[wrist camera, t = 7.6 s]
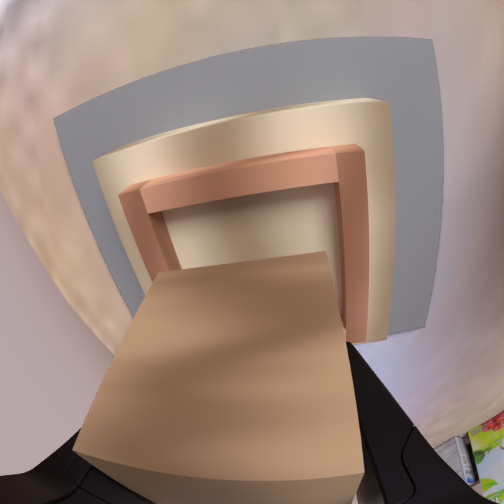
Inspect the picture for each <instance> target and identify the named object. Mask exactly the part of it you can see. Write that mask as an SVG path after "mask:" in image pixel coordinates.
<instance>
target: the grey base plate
mask: <svg viewBox="0 0 504 504" xmlns="http://www.w3.org/2000/svg"><path fill="white" fill-rule="evenodd" d="M358 98H370V99H376V100H382V101H387V102H389V105H390V114H391V124H392V135H393V148H394V165H395V197H396V222H395V254H394V271H393V285H392V296H391V306H390V315H389V324H388V332H387V335H389V334H395V333H400V332H405V331H410V330H415V329H420V328H424V327H425V324H426V319H427V315H428V310H429V305H430V300H431V295H432V289H433V283H434V277H435V271H436V264H437V257H438V249H439V240H440V230H441V219H442V204H443V180H444V145H443V122H442V108H441V97H440V87H439V79H438V71H437V65H436V58H435V52H434V47H433V41H432V39H421V38H406V37H340V38H324V39H313V40H303V41H295V42H287V43H280V44H273V45H267V46H261V47H255V48H250V49H245V50H240V51H235V52H231V53H226V54H222V55H218V56H214V57H210V58H206V59H202V60H198V61H195V62H191V63H188V64H184V65H181V66H178V67H174V68H171V69H168V70H165V71H162V72H159V73H156V74H153V75H150V76H147V77H145V78H142V79H139V80H137V81H134V82H131V83H129V84H126V85H124V86H121V87H119V88H116V89H114V90H112V91H109V92H107V93H105V94H102V95H100V96H98V97H96V98H93V99H91V100H89V101H87V102H85V103H83V104H81V105H79V106H77V107H75V108H73V109H71V110H69V111H67V112H65V113H63V114H61V115H59V116H57V117H55V118H54V119H53V120H54V124H55V127H56V131H57V134H58V138H59V141H60V145H61V148H62V151H63V154H64V158H65V161H66V164H67V167H68V170H69V173H70V176H71V179H72V182H73V184H74V187H75V190H76V193H77V195H78V198H79V201H80V203H81V206H82V209H83V211H84V214H85V216H86V219H87V221H88V224H89V226H90V229H91V231H92V233H93V236H94V238H95V240H96V243H97V245H98V247H99V249H100V252H101V254H102V256H103V258H104V261H105V263H106V265H107V267H108V269H109V271H110V273H111V275H112V278H113V280H114V282H115V284H116V286H117V288H118V290H119V292H120V294H121V296H122V298H123V300H124V302H125V303H126V305H127V307H128V309H129V311H130V313H131V315H132V317H133V318H134V316H135V314H136V313H137V311H138V309H139V307H140V305H141V303H142V301H143V299H144V298H145V294H144V291H143V289H142V287H141V285H140V283H139V281H138V278H137V276H136V274H135V272H134V270H133V267H132V265H131V263H130V260H129V258H128V256H127V253H126V251H125V249H124V246H123V244H122V241H121V239H120V237H119V234H118V232H117V229H116V227H115V224H114V221H113V219H112V216H111V214H110V211H109V208H108V206H107V203H106V200H105V197H104V195H103V192H102V189H101V186H100V183H99V180H98V177H97V174H96V171H95V168H94V165H93V162H92V161H93V160H95V159H97V158H99V157H101V156H103V155H105V154H107V153H109V152H111V151H113V150H115V149H117V148H119V147H121V146H123V145H126V144H129V143H132V142H135V141H138V140H141V139H145V138H148V137H151V136H155V135H158V134H161V133H165V132H168V131H172V130H176V129H179V128H183V127H187V126H191V125H195V124H199V123H203V122H207V121H211V120H216V119H220V118H225V117H230V116H234V115H239V114H244V113H250V112H255V111H261V110H266V109H272V108H279V107H285V106H292V105H299V104H307V103H315V102H324V101H334V100H345V99H358Z"/></svg>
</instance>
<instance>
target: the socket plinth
mask: <svg viewBox="0 0 504 504" xmlns="http://www.w3.org/2000/svg"><path fill="white" fill-rule="evenodd" d="M92 162H93V165H94V168H95V171H96V174H97V177H98V180H99V183H100V186H101V189H102V192H103V195H104V197H105V200H106V203H107V206H108V208H109V211H110V214H111V216H112V219H113V221H114V224H115V227H116V229H117V232H118V234H119V237H120V239H121V241H122V244H123V246H124V249H125V251H126V253H127V256H128V258H129V260H130V263H131V265H132V267H133V270H134V272H135V274H136V276H137V278H138V281H139V283H140V285H141V287H142V289H143V291H144V294H145V296H146V294H147V292H148V290H149V288H150V287H151V285H152V283H153V281H154V279H155V278H156V276H157V274H158V272H164V271H172V270H180V269H188V268H196V267H204V266H212V265H220V264H228V263H236V262H244V261H252V260H260V259H267V258H275V257H283V256H290V255H298V254H306V253H313V252H321V251H326V253H327V257H328V261H329V266H330V270H331V274H332V279H333V283H334V287H335V292H336V297H337V301H338V306H339V311H340V315H341V320H342V325H343V330H344V336H345V341H346V342H347V341H349V342H351V343H352V344H353V345H357V344H363V343H369V342H375V341H381V340H386V339H387V332H388V324H389V315H390V306H391V296H392V285H393V271H394V254H395V222H396V197H395V165H394V148H393V135H392V124H391V114H390V105H389V102H387V101H382V100H376V99H370V98H358V99H345V100H334V101H324V102H315V103H307V104H299V105H292V106H285V107H279V108H272V109H266V110H261V111H255V112H250V113H244V114H239V115H234V116H230V117H225V118H220V119H216V120H211V121H207V122H203V123H199V124H195V125H191V126H187V127H183V128H179V129H176V130H172V131H168V132H165V133H161V134H158V135H155V136H151V137H148V138H145V139H141V140H138V141H135V142H132V143H129V144H126V145H123V146H121V147H119V148H117V149H115V150H113V151H111V152H109V153H107V154H105V155H103V156H101V157H99V158H97V159H95V160H93V161H92Z"/></svg>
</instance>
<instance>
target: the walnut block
mask: <svg viewBox="0 0 504 504" xmlns="http://www.w3.org/2000/svg"><path fill="white" fill-rule="evenodd" d="M73 451H74V452H75V453H77V454H78V455H79V456H81V457H82V458H83V459H85V460H86V461H88V462H89V463H90V464H92V465H93V466H95V467H96V468H98V469H99V470H100V471H102V472H103V473H105V474H106V475H108V476H109V477H111V478H113V479H114V480H116V481H117V482H119V483H121V484H122V485H124V486H125V487H127V488H129V489H130V490H132V491H134V492H136V493H137V494H139V495H141V496H143V497H145V498H146V499H148V500H150V501H152V502H154V503H156V504H351V503H352V501H353V498H354V496H355V494H356V492H357V489H358V487H359V485H360V482H361V480H362V477H363V475H364V473H365V472H364V462H363V453H362V444H361V436H360V428H359V421H358V413H357V406H356V400H355V393H354V387H353V381H352V375H351V369H350V363H349V357H348V352H347V346H346V341H345V336H344V330H343V325H342V320H341V315H340V311H339V306H338V301H337V297H336V292H335V287H334V283H333V279H332V274H331V270H330V266H329V261H328V257H327V253H326V251H321V252H313V253H306V254H298V255H290V256H283V257H275V258H267V259H260V260H252V261H244V262H236V263H228V264H220V265H212V266H204V267H196V268H188V269H180V270H172V271H164V272H158V274H157V276H156V278H155V279H154V281H153V283H152V285H151V287H150V288H149V290H148V292H147V294H146V296H145V298H144V299H143V301H142V303H141V305H140V307H139V309H138V311H137V313H136V314H135V316H134V318H133V320H132V322H131V324H130V326H129V328H128V330H127V332H126V334H125V336H124V338H123V340H122V342H121V344H120V346H119V348H118V350H117V352H116V354H115V356H114V358H113V360H112V362H111V364H110V366H109V368H108V370H107V372H106V374H105V376H104V379H103V381H102V383H101V385H100V387H99V389H98V391H97V394H96V396H95V398H94V400H93V403H92V405H91V407H90V409H89V412H88V414H87V416H86V418H85V421H84V423H83V425H82V428H81V430H80V432H79V435H78V437H77V440H76V442H75V445H74V447H73Z"/></svg>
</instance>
